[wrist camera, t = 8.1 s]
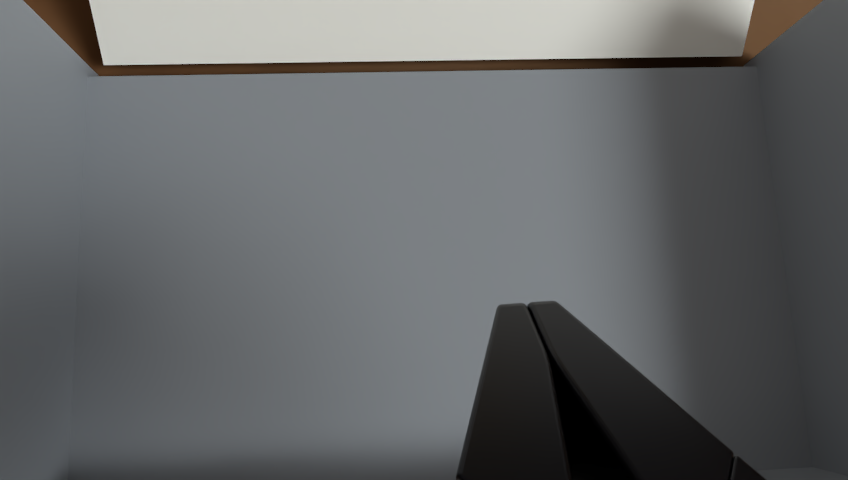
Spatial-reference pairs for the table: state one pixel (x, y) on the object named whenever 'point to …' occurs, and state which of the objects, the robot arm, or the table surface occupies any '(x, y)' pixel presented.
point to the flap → (414, 30)
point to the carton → (409, 255)
